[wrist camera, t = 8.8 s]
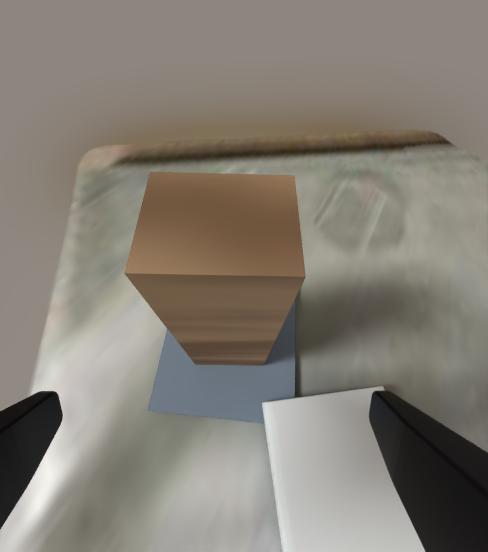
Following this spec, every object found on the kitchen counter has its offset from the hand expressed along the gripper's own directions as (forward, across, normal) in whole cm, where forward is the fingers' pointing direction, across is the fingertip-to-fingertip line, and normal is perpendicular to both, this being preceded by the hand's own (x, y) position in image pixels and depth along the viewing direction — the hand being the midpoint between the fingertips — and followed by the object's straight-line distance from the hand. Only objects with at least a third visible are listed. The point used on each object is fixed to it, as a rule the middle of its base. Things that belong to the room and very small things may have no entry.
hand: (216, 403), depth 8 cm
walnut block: (+12, 0, +5) cm, 13 cm away
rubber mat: (+12, 0, +5) cm, 14 cm away
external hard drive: (+6, -7, +12) cm, 15 cm away
